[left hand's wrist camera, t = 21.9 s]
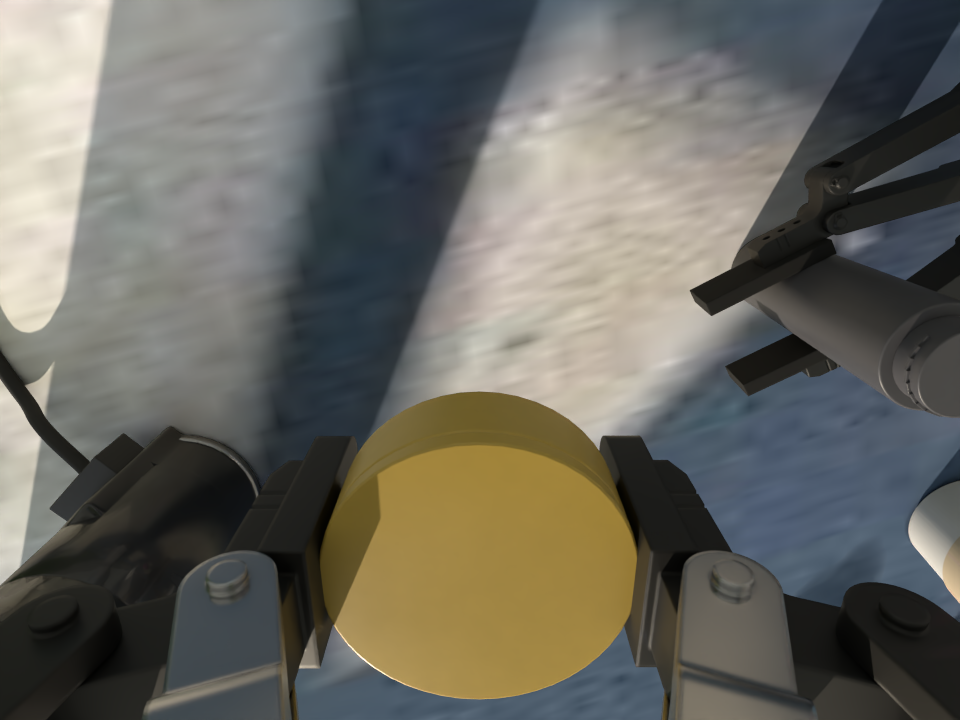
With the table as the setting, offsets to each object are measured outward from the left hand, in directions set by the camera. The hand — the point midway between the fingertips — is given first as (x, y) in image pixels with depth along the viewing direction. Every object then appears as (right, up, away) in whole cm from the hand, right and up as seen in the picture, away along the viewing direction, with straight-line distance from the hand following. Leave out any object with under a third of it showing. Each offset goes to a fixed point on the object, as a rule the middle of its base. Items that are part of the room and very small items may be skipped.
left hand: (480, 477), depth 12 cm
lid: (0, -1, -3) cm, 3 cm away
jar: (+18, +8, +25) cm, 32 cm away
